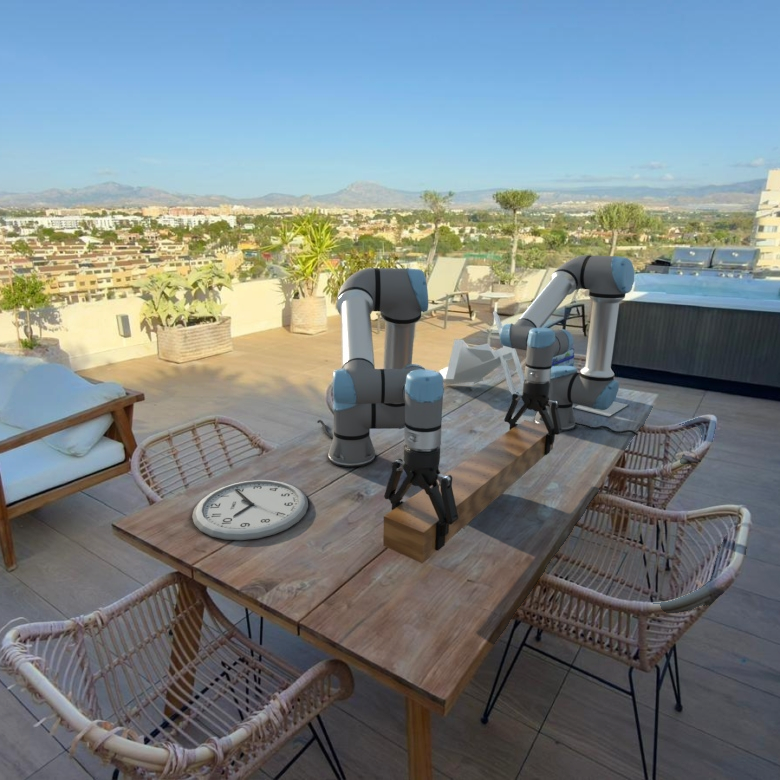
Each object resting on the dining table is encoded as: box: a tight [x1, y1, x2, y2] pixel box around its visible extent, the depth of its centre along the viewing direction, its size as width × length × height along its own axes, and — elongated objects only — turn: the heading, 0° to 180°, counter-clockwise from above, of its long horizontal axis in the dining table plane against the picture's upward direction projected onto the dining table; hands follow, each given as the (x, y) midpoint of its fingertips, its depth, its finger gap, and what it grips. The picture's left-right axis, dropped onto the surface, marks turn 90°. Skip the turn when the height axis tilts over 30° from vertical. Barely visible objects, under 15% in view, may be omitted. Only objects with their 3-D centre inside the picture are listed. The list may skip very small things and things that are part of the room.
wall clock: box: [191, 479, 309, 541], centre depth 140 cm, size 30×2×30 cm
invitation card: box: [573, 401, 629, 418], centre depth 226 cm, size 21×1×15 cm
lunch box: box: [552, 347, 575, 367], centre depth 245 cm, size 26×11×21 cm, turn 134°
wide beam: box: [382, 419, 554, 564], centre depth 138 cm, size 75×10×7 cm, turn 143°
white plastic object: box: [438, 310, 525, 396], centre depth 245 cm, size 37×45×31 cm
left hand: (418, 538), depth 115 cm, fingers closed on wide beam, 10 cm apart
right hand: (529, 448), depth 162 cm, fingers closed on wide beam, 10 cm apart
